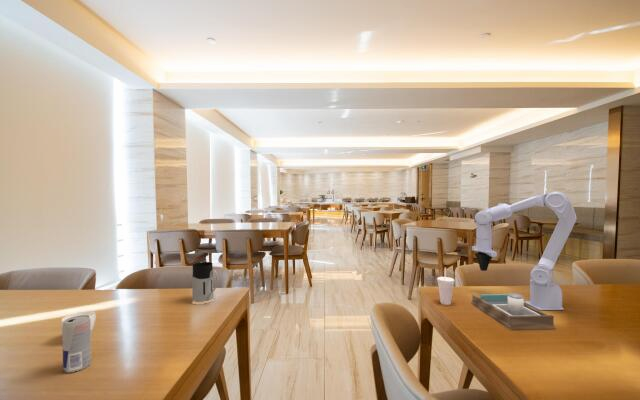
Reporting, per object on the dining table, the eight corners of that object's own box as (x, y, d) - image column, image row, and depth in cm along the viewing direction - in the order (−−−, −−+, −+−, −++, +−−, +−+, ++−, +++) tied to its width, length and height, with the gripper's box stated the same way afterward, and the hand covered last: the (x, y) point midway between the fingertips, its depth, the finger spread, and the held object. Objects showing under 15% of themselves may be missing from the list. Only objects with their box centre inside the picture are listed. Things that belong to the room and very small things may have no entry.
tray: (480, 303, 110) (480, 294, 110) (508, 303, 110) (508, 294, 110) (511, 323, 93) (511, 312, 93) (544, 322, 93) (544, 311, 93)
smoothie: (451, 300, 116) (451, 266, 116) (457, 306, 110) (457, 270, 110) (434, 300, 117) (434, 265, 117) (439, 306, 111) (439, 269, 110)
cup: (54, 345, 82) (53, 321, 82) (82, 329, 92) (82, 308, 92) (81, 345, 82) (81, 321, 82) (107, 328, 92) (106, 308, 92)
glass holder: (206, 295, 123) (206, 260, 123) (227, 302, 115) (226, 265, 115) (186, 301, 116) (186, 264, 116) (207, 309, 108) (206, 269, 107)
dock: (471, 303, 113) (471, 293, 113) (507, 303, 113) (507, 292, 113) (510, 329, 91) (510, 317, 91) (554, 328, 91) (555, 316, 91)
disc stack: (517, 309, 101) (517, 292, 101) (526, 315, 96) (527, 297, 96) (504, 309, 101) (504, 293, 101) (513, 315, 96) (513, 297, 96)
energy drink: (74, 361, 74) (73, 315, 74) (96, 360, 75) (95, 314, 74) (56, 374, 69) (56, 324, 69) (80, 372, 69) (80, 323, 69)
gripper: (465, 236, 130) (465, 266, 130) (485, 241, 116) (484, 275, 116) (480, 236, 130) (480, 266, 131) (502, 241, 116) (501, 274, 116)
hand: (483, 270), depth 123 cm, fingers closed
